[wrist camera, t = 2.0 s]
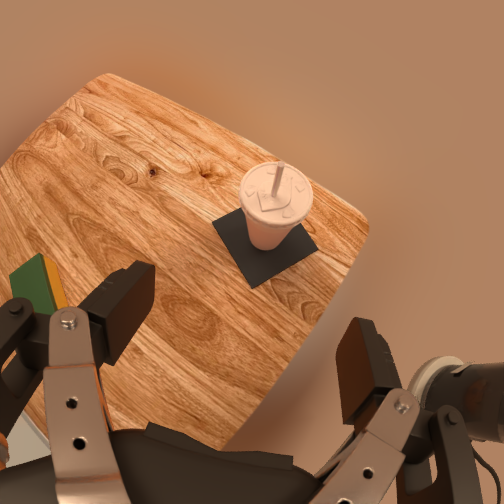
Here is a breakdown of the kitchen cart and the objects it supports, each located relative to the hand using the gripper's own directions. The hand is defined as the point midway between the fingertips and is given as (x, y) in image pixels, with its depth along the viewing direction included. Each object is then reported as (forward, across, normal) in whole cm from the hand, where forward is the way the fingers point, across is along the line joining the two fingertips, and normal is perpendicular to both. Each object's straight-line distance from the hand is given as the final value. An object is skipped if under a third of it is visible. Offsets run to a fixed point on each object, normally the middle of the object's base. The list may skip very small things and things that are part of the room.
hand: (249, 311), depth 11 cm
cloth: (+22, 0, +6) cm, 22 cm away
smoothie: (+22, 0, +5) cm, 22 cm away
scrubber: (+11, +24, +17) cm, 31 cm away
